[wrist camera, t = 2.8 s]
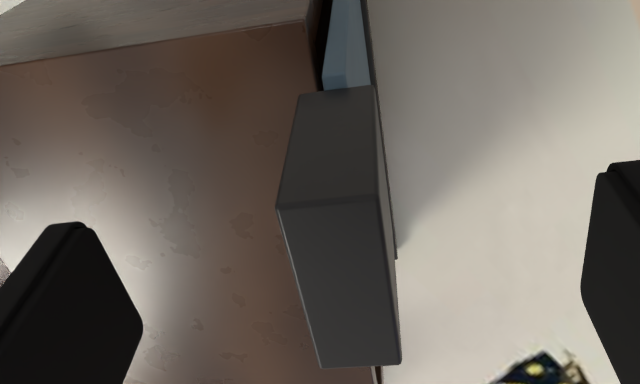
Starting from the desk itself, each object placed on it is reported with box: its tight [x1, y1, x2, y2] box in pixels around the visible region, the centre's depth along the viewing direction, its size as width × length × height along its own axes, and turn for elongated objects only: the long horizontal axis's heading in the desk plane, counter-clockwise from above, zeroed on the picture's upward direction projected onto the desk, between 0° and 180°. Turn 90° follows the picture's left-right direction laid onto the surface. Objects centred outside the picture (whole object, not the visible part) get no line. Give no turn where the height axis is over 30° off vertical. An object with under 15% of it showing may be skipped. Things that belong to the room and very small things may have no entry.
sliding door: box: [275, 0, 402, 369], centre depth 17 cm, size 2×9×16 cm, turn 10°
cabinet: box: [0, 0, 398, 384], centre depth 22 cm, size 12×18×12 cm
